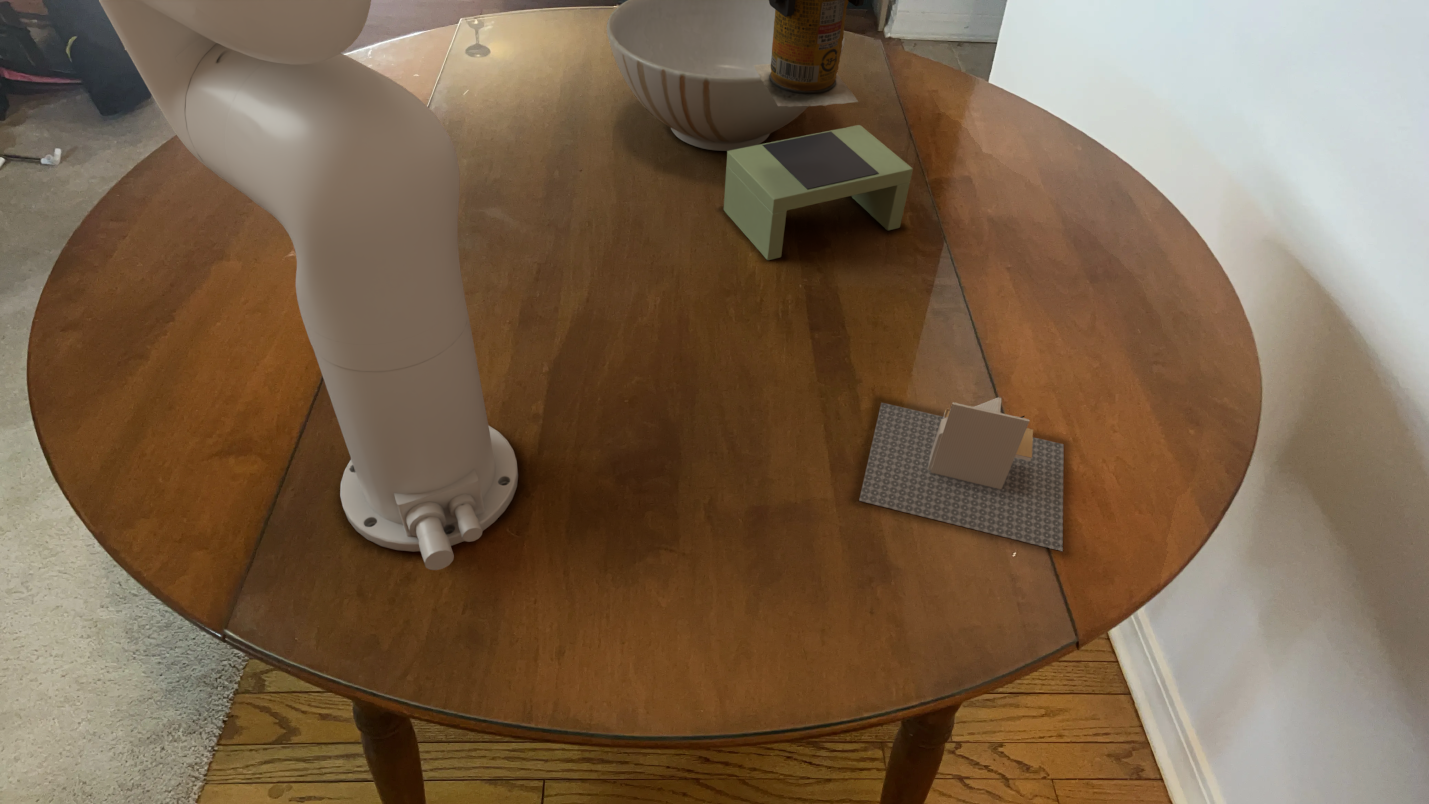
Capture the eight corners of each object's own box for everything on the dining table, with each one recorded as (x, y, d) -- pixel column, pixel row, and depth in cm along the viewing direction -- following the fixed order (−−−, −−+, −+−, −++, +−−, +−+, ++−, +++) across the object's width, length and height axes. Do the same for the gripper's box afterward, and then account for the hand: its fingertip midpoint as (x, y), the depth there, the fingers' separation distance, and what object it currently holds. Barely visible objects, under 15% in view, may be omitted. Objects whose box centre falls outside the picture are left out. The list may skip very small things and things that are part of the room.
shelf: (900, 227, 95) (913, 167, 91) (767, 260, 90) (774, 198, 85) (850, 182, 102) (860, 123, 97) (723, 210, 96) (727, 149, 91)
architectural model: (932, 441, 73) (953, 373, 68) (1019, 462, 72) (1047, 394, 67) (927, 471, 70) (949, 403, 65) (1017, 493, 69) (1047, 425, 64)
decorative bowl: (630, 193, 98) (628, 86, 89) (595, 84, 116) (590, -13, 108) (861, 173, 103) (880, 71, 95) (792, 73, 122) (803, -21, 113)
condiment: (828, 62, 84) (845, -77, 76) (858, 103, 78) (880, -43, 70) (753, 67, 83) (761, -74, 75) (777, 109, 77) (790, -39, 69)
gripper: (763, -242, 58) (745, 37, 71) (978, -250, 64) (925, 9, 77) (713, -262, 63) (704, 2, 75) (917, -268, 69) (877, -22, 81)
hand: (816, 3), depth 76 cm, fingers closed on condiment, 6 cm apart
